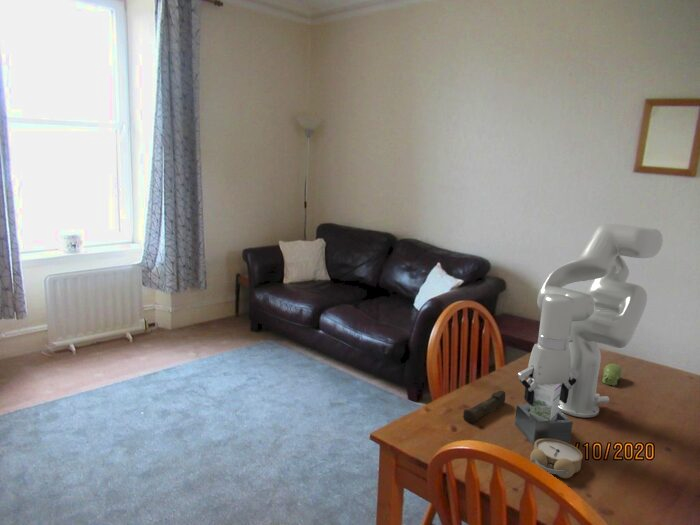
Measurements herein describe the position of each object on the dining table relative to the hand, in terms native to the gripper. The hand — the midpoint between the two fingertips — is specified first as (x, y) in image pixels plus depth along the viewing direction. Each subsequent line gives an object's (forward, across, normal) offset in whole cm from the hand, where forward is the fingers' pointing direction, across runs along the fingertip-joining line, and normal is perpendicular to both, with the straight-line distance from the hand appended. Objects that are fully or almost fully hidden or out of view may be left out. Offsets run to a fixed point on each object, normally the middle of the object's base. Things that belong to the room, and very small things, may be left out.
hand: (545, 401), depth 139 cm
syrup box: (+8, 0, 0) cm, 9 cm away
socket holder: (+9, 0, 0) cm, 9 cm away
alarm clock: (+10, +4, +14) cm, 18 cm away
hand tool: (+10, +11, -13) cm, 19 cm away
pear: (+10, -42, -29) cm, 52 cm away
